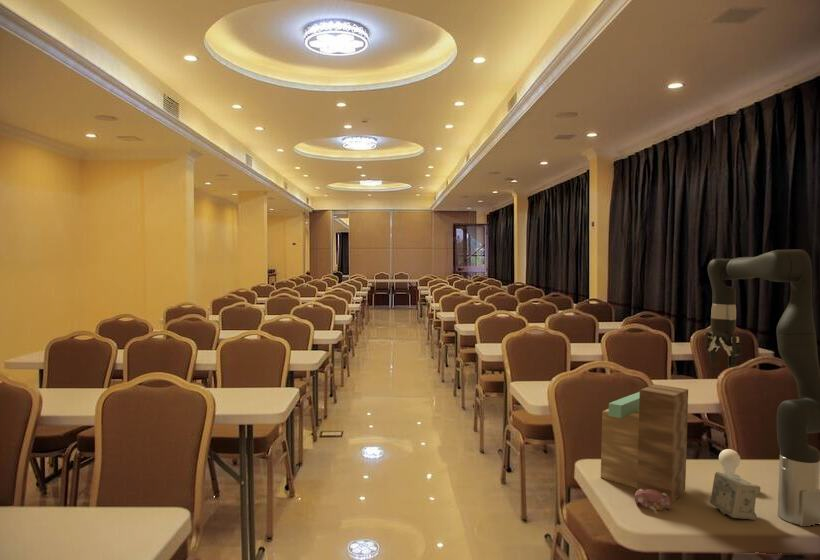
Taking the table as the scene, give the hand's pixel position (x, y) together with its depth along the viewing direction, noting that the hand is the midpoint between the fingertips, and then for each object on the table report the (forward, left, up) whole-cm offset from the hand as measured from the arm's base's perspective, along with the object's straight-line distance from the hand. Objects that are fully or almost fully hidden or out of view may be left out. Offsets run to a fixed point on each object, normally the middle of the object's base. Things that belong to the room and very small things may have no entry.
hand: (721, 364), depth 199 cm
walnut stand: (-16, +33, -36) cm, 51 cm away
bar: (-1, +34, -14) cm, 37 cm away
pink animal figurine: (-25, +42, -36) cm, 61 cm away
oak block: (-2, +36, -36) cm, 51 cm away
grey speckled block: (-32, +21, -36) cm, 53 cm away
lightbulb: (-12, +6, -36) cm, 39 cm away
